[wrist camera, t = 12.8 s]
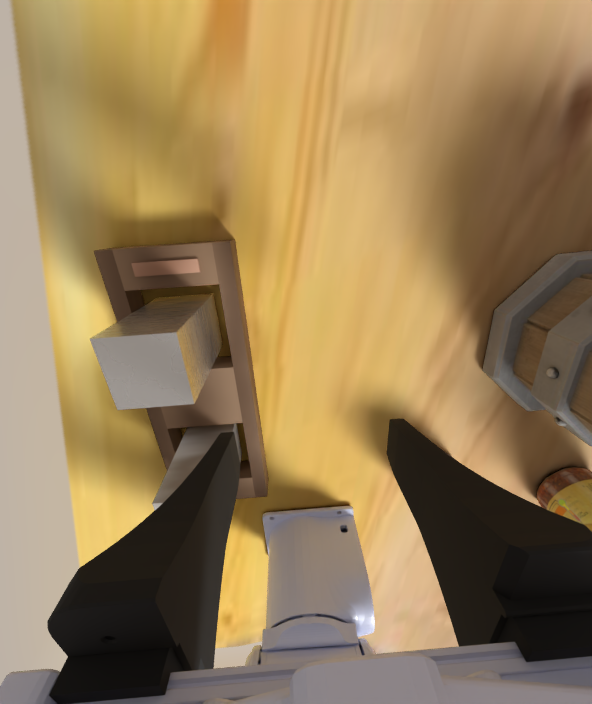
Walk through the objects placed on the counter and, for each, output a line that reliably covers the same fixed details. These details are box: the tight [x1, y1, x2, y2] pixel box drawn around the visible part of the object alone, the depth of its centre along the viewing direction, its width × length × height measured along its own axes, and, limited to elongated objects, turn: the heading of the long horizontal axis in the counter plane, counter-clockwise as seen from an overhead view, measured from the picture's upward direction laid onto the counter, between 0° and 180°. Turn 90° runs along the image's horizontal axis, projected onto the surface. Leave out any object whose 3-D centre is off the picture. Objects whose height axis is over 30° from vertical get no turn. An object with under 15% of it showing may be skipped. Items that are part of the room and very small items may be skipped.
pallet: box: [94, 240, 268, 510], centre depth 20 cm, size 8×22×8 cm, turn 4°
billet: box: [90, 293, 223, 410], centre depth 18 cm, size 4×4×8 cm
